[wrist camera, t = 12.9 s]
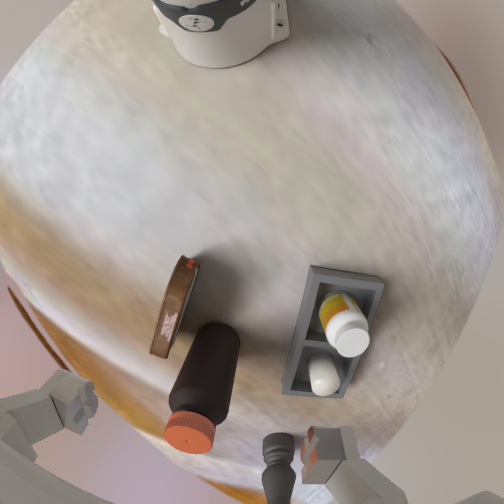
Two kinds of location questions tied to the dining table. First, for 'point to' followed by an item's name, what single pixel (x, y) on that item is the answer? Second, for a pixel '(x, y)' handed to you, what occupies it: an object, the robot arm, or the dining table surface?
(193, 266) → the tin
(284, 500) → the candle holder
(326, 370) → the shaker
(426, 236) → the dining table surface
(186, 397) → the vinegar
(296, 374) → the caddy
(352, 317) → the supplement bottle
